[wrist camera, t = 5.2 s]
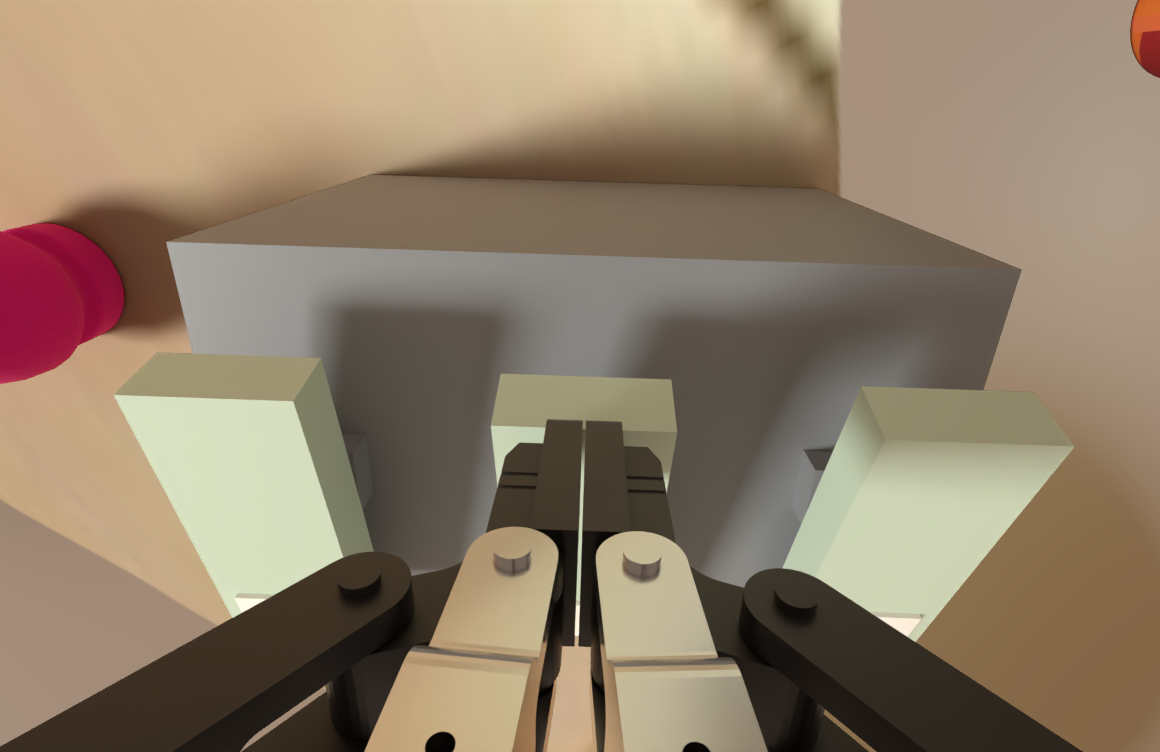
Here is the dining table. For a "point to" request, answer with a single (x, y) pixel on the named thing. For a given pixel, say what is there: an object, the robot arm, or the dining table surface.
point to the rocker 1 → (249, 466)
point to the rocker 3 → (923, 495)
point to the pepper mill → (52, 297)
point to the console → (593, 333)
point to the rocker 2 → (584, 418)
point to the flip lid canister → (1146, 35)
